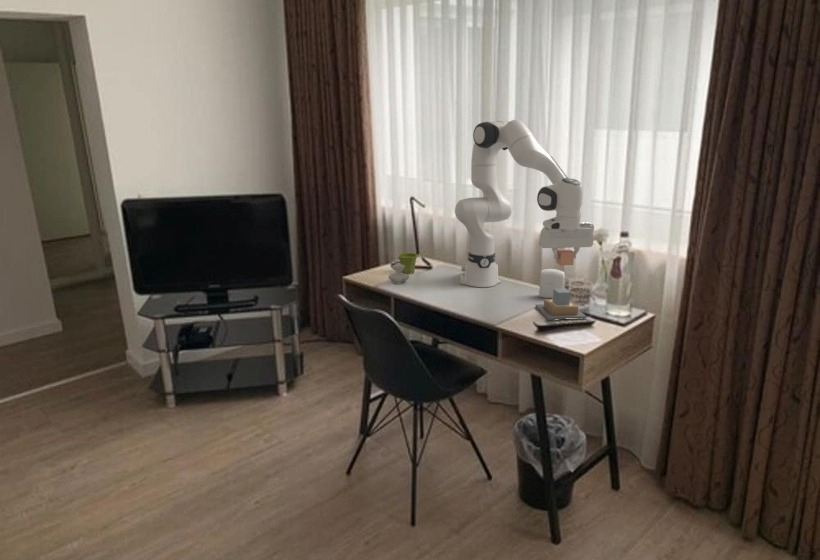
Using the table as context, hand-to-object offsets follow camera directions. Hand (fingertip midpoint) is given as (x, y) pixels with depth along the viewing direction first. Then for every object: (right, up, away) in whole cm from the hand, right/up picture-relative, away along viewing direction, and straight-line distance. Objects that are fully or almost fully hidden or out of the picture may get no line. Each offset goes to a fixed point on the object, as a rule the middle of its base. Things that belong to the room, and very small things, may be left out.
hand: (564, 258), depth 227 cm
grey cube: (0, -17, +5) cm, 18 cm away
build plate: (0, -21, +6) cm, 22 cm away
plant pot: (-60, -5, +59) cm, 85 cm away
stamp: (-64, -10, +44) cm, 78 cm away
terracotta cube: (0, -2, +1) cm, 2 cm away
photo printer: (+1, -16, +25) cm, 29 cm away
